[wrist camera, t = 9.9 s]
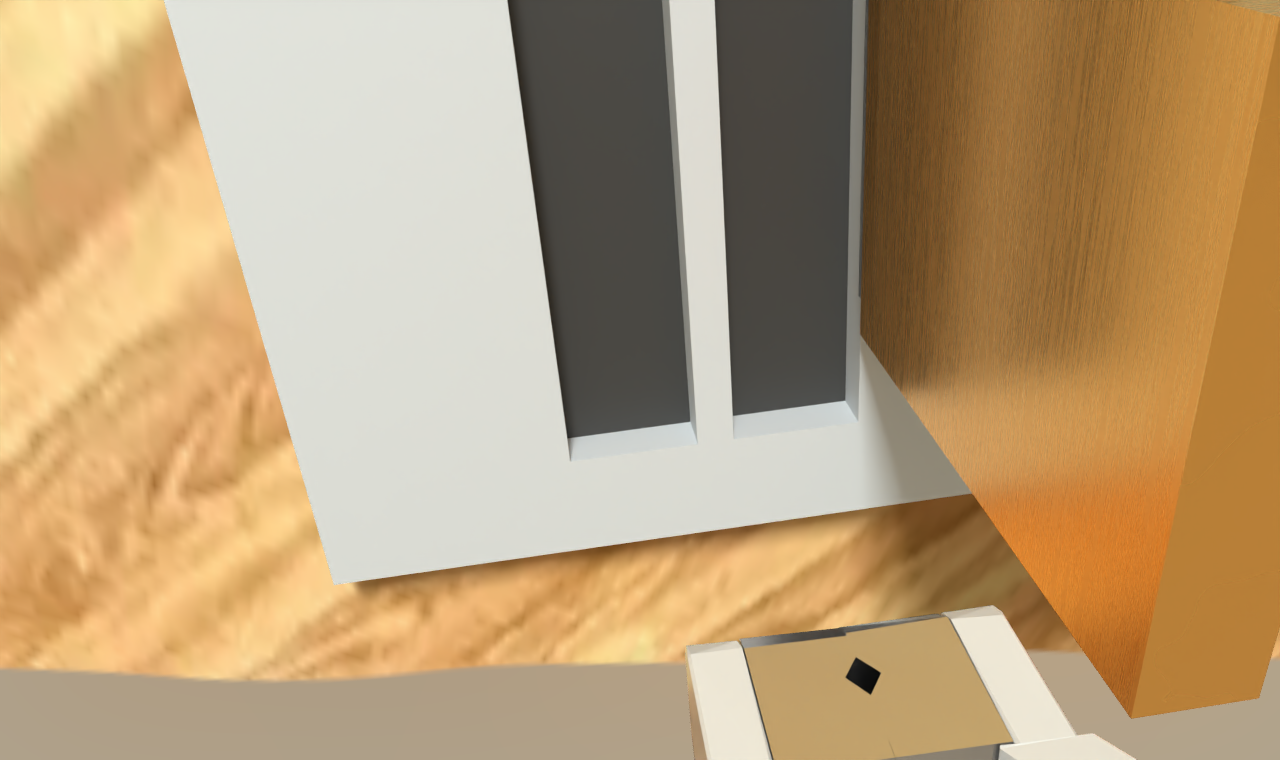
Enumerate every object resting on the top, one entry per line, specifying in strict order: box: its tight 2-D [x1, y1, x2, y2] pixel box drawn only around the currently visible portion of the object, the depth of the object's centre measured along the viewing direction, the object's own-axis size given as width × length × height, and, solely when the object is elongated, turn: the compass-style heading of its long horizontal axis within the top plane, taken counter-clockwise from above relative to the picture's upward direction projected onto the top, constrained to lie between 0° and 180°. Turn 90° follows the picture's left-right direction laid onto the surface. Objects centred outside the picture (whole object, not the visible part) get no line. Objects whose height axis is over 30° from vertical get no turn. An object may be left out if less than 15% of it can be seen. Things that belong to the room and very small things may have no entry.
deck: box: [164, 0, 972, 585], centre depth 26 cm, size 38×22×2 cm, turn 95°
